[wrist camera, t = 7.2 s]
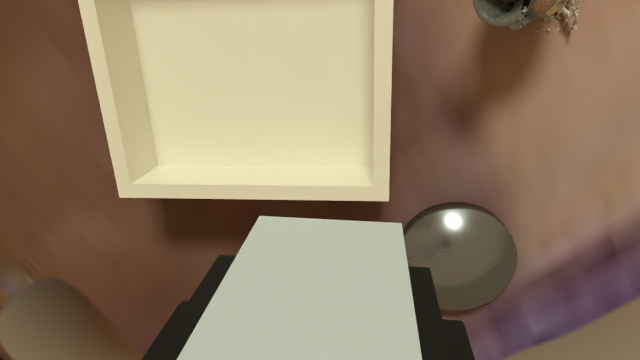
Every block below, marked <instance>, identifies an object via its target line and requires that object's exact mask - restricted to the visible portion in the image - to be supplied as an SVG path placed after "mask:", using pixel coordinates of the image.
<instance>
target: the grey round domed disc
mask: <svg viewBox="0 0 640 360" xmlns="http://www.w3.org/2000/svg"><path fill="white" fill-rule="evenodd" d="M403 236H404V242H405V249H406V255H407V262H408V266H415V267H429V268H430V270H431V274H432V279H433V283H434V287H435V291H436V295H437V300H438V304H439V308H440V309H443V310H451V311H459V310H467V309H472V308H476V307H479V306H481V305H484V304H486V303H488V302H490V301H491V300H493V299H494V298H496V297H497V296H498V295H499V294H501V293H502V292H503V291H504V290H505V288H506V287H507V286H508V284H509V283H510V281H511V280H512V278H513V275H514V273H515V270H516V265H517V250H516V246H515V243H514V241H513V239H512V237H511V235H510V233H509V232H508V230H507V229H506V227H505V226H504V224H503V223H502V222H501V221H500V219H499V218H498V217H496V216H495V215H494V214H493V213H491V212H490V211H488V210H486V209H484V208H482V207H480V206H477V205H474V204H469V203H462V202H450V203H443V204H439V205H436V206H433V207H430V208H428V209H426V210H424V211H422V212H421V213H419V214H418V215H416V216H415V217H414V218H413V219H412V220H411V221H410V222H409V223H408V224H407V225H406V226H405V228H404V229H403Z"/></svg>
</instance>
